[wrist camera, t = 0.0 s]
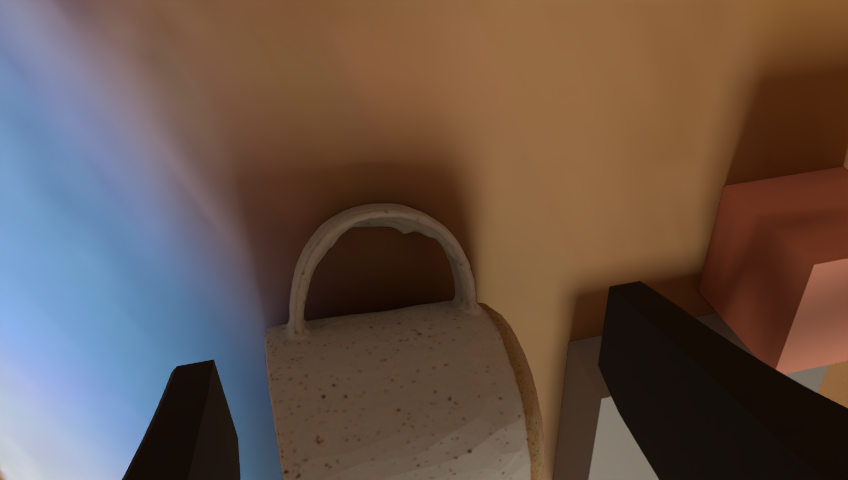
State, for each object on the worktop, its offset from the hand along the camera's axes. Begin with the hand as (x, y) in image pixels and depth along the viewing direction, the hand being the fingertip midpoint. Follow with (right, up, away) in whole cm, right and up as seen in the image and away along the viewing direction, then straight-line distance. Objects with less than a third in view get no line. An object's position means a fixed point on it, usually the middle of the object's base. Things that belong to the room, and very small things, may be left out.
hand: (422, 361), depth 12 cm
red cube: (+14, +3, +15) cm, 20 cm away
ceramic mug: (-2, -1, +13) cm, 13 cm away
